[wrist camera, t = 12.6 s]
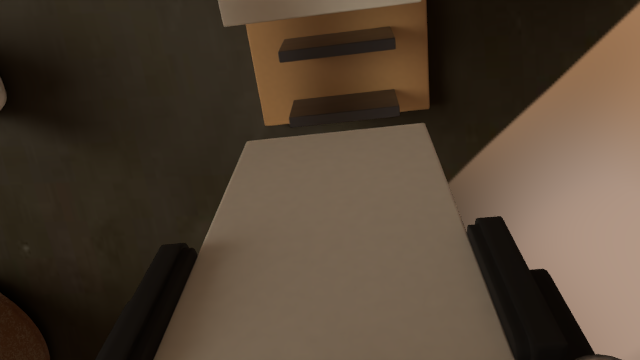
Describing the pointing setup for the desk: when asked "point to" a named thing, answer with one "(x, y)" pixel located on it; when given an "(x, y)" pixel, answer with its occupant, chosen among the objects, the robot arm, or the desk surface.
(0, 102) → the figurine
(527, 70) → the desk surface
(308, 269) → the white book
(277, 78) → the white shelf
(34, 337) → the planter
